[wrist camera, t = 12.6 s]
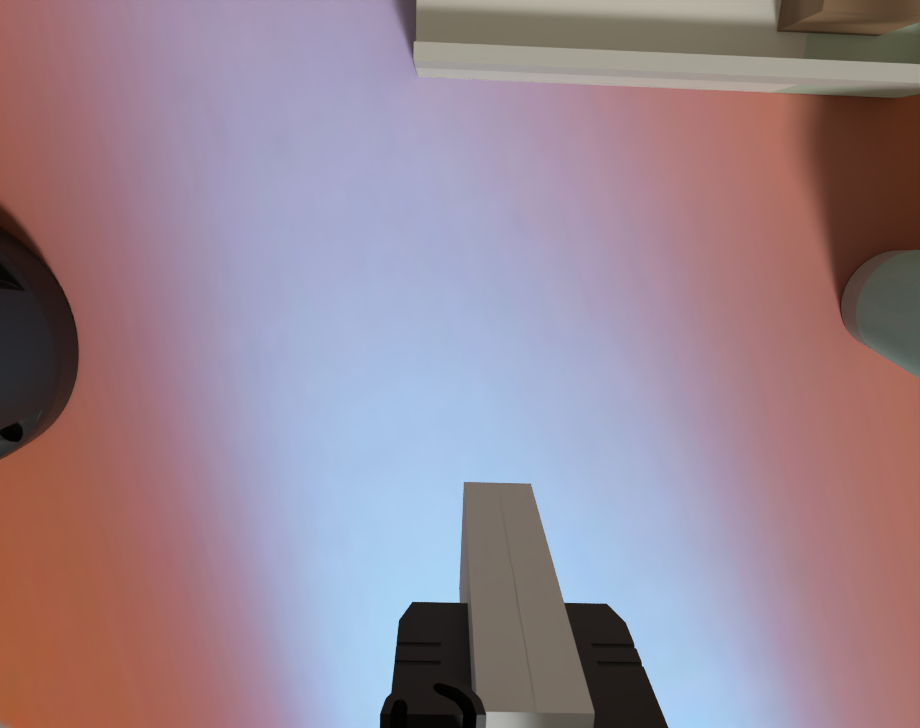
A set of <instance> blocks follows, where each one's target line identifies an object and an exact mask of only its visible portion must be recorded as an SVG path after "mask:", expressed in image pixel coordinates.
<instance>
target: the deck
mask: <svg viewBox="0 0 920 728" xmlns="http://www.w3.org/2000/svg"><path fill="white" fill-rule="evenodd" d="M781 1H782V0H417V5H416V41H414V56H413V61H414V64H415V68H416V72H417V76H418V77H426V78H449V79H472V80H495V81H518V82H541V83H564V84H587V85H610V86H633V87H656V88H679V89H702V90H725V91H748V92H771V93H794V94H817V95H840V96H863V97H886V98H900V97H905V96H911V95H916V94H920V22H919V23H916V24H913V25H910V26H907V27H904V28H901V29H898V30H895V31H892V32H889V33H886V34H883V35H880V36H862V35H840V34H819V33H797V32H777V27H778V20H779V14H780V7H781Z"/></svg>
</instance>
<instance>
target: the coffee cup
mask: <svg viewBox="0 0 920 728" xmlns="http://www.w3.org/2000/svg"><path fill="white" fill-rule="evenodd" d="M841 314H842V319H843V322H844V324H845V327H846V328H847V330H848V332H849V333H850V334H851V335H852V336H853V337H854V338H855V339H856V340H858V341H859V342H861V343H862V344H864V345H866V346H867V347H869V348H870V349H872V350H874V351H875V352H877V353H878V354H880V355H882V356H883V357H885V358H887V359H888V360H890V361H891V362H893V363H895V364H896V365H898V366H900V367H901V368H903V369H905V370H906V371H908V372H909V373H911V374H913V375H914V376H916V377H918V378H919V379H920V250H893V251H888V252H884V253H881V254H878V255H876V256H874V257H872V258H871V259H869V260H868V261H866V262H865V263H864V264H862V265H861V266H860V267H859V268H858V269H857V270H856V271H855V272H854V274H853V275H852V276H851V278H850V279H849V281H848V283H847V285H846V287H845V290H844V292H843V296H842V302H841Z"/></svg>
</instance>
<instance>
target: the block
mask: <svg viewBox="0 0 920 728" xmlns="http://www.w3.org/2000/svg"><path fill="white" fill-rule="evenodd" d="M919 22H920V0H782V1H781V7H780V14H779V20H778V27H777V32H797V33H819V34H840V35H862V36H880V35H883V34H886V33H889V32H892V31H895V30H898V29H901V28H904V27H907V26H910V25H913V24H916V23H919Z"/></svg>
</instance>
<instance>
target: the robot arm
mask: <svg viewBox="0 0 920 728" xmlns="http://www.w3.org/2000/svg"><path fill="white" fill-rule="evenodd" d="M77 370H78V341H77V335H76V329H75V325H74V321H73V318H72V315H71V312H70V309H69V307H68V304H67V302H66V300H65V298H64V296H63V294H62V292H61V290H60V288H59V287H58V285H57V283H56V282H55V280H54V279H53V277H52V276H51V274H50V273H49V272H48V270H47V269H46V268H45V266H44V265H43V264H42V263H41V262H40V261H39V259H38V258H37V257H36V256H35V255H34V254H33V253H32V252H31V251H30V250H29V249H28V248H27V247H25V246H24V245H23V244H22V243H21V242H20V241H18V240H17V239H16V238H15V237H13V236H12V235H11V234H9V233H8V232H6V231H5V230H3V229H2V228H0V459H2V458H4V457H6V456H8V455H10V454H12V453H13V452H15V451H17V450H18V449H20V448H22V447H23V446H25V445H26V444H28V443H30V442H31V441H33V440H34V439H36V438H37V437H39V436H40V435H41V434H42V433H44V432H45V431H46V430H47V429H48V428H49V427H50V426H51V425H52V424H53V423H54V422H55V421H56V419H57V418H58V417H59V416H60V414H61V413H62V411H63V410H64V408H65V406H66V404H67V403H68V401H69V398H70V396H71V394H72V391H73V388H74V384H75V380H76V376H77ZM459 590H460V603H438V602H412V604H411V605H410V606H409V608H408V609H407V610H406V612H405V613H404V614H403V616H402V617H401V619H400V620H399V626H398V635H397V646H396V654H395V665H394V673H393V682H392V692H391V694H390V695H389V696H388V697H387V698H386V700H385V702H384V705H383V708H382V710H381V713H380V728H668V726H667V723H666V721H665V718H664V716H663V714H662V711H661V709H660V706H659V704H658V701H657V699H656V696H655V694H654V691H653V689H652V686H651V684H650V682H649V679H648V677H647V674H646V672H645V669H644V667H642V662H641V659H640V657H639V654H638V652H637V650H636V648H634V642H633V640H632V637H631V635H630V632H629V630H628V627H627V625H626V623H625V622H624V621H623V620H622V619H621V618H620V617H619V616H618V615H617V614H616V613H615V612H614V611H613V610H612V609H611V608H610V607H609V606H608V605H607V604H590V603H564V601H563V598H562V594H561V590H560V587H559V583H558V580H557V576H556V573H555V569H554V565H553V562H552V558H551V555H550V551H549V547H548V544H547V540H546V537H545V533H544V530H543V526H542V522H541V519H540V515H539V512H538V508H537V505H536V501H535V497H534V494H533V490H532V487H531V484H519V483H479V482H464V493H463V517H462V540H461V564H460V587H459Z"/></svg>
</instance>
